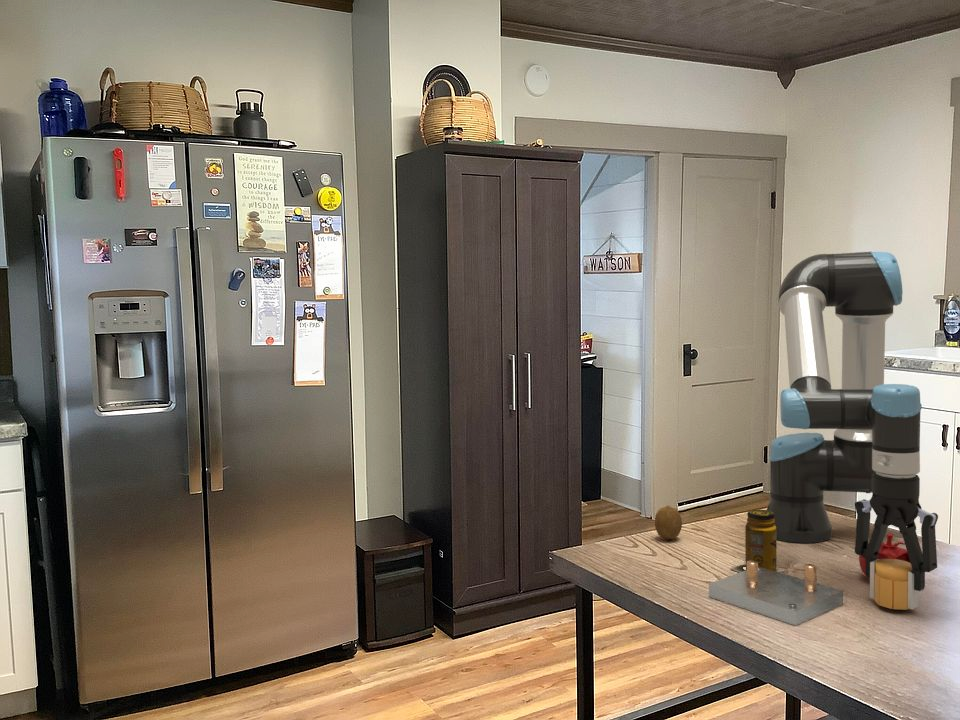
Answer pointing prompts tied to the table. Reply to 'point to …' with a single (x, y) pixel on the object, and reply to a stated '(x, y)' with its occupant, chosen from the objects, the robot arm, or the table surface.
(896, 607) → the wire nut
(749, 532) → the condiment
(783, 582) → the plate
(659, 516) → the fruit
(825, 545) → the table surface
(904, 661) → the table surface
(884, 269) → the robot arm
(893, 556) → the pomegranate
